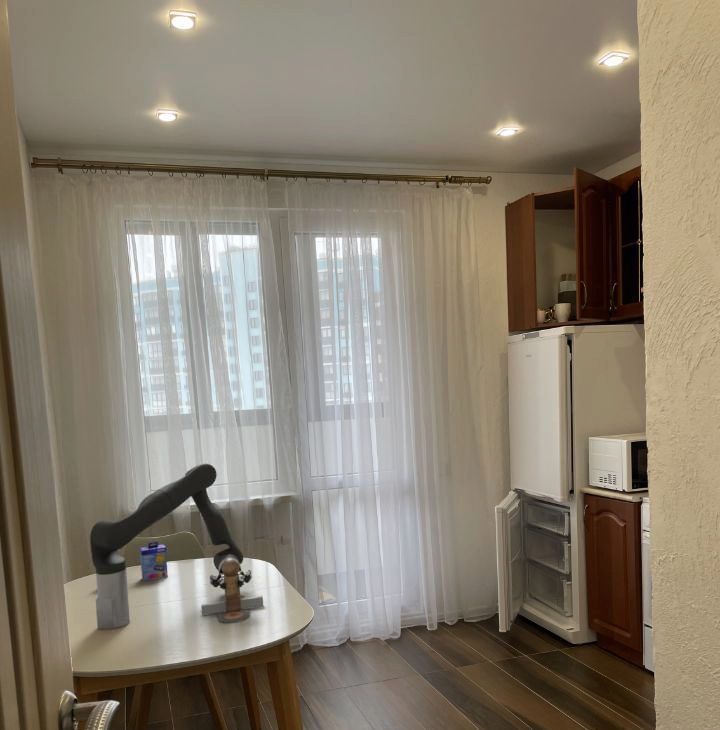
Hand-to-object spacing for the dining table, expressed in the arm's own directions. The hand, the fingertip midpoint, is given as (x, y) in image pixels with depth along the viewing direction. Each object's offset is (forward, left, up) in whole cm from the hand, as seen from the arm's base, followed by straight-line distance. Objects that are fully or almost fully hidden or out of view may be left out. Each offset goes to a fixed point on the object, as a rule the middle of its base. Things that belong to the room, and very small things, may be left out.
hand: (232, 585), depth 213 cm
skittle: (+2, +1, -8) cm, 9 cm away
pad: (+2, +1, -11) cm, 11 cm away
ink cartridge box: (+42, +57, -11) cm, 72 cm away
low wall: (+9, +5, -11) cm, 15 cm away
